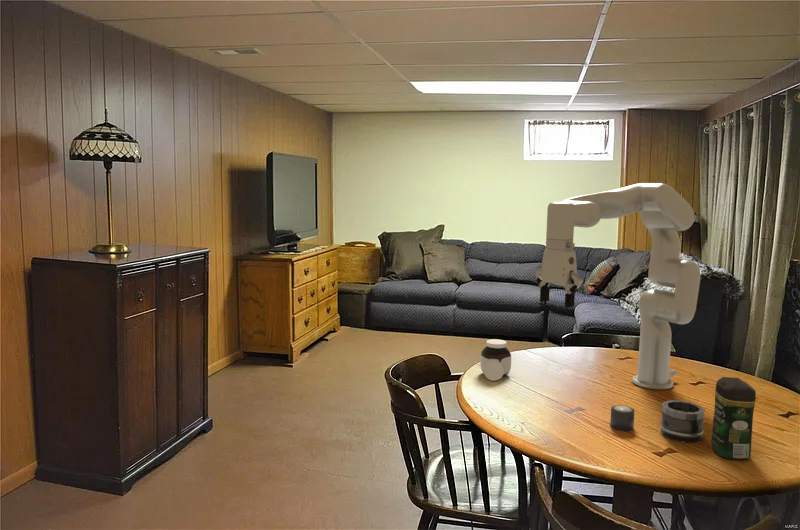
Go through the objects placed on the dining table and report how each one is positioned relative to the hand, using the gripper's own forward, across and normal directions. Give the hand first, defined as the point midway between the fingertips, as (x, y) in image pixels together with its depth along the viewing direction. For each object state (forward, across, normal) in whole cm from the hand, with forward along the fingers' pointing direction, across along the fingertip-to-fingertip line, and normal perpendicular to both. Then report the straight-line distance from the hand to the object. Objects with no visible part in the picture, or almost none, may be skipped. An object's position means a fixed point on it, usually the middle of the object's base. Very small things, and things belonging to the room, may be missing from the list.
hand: (556, 304), depth 178 cm
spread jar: (+31, +31, -5) cm, 44 cm away
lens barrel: (+31, -32, -15) cm, 47 cm away
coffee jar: (+31, -45, -15) cm, 57 cm away
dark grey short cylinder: (+31, -20, -6) cm, 38 cm away
